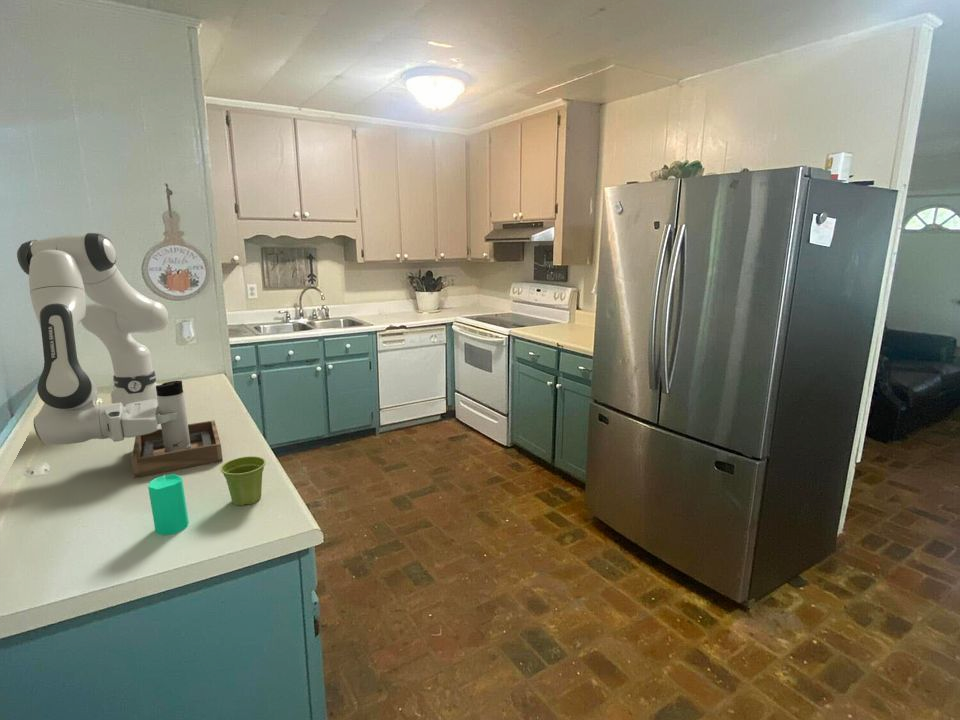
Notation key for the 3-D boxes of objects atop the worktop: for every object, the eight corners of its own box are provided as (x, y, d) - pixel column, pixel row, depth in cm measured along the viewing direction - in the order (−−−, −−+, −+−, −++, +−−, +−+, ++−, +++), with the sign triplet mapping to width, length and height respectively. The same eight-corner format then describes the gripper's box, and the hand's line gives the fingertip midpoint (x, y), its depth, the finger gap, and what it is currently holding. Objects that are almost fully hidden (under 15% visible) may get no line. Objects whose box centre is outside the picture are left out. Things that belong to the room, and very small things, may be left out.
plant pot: (277, 493, 122) (274, 459, 120) (248, 512, 113) (244, 476, 111) (246, 487, 125) (242, 453, 123) (215, 505, 116) (210, 470, 114)
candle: (164, 520, 110) (156, 468, 108) (193, 519, 111) (186, 467, 108) (149, 536, 105) (140, 481, 102) (180, 534, 105) (172, 480, 102)
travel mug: (180, 456, 140) (171, 385, 135) (159, 454, 141) (149, 383, 137) (197, 447, 146) (188, 379, 141) (176, 445, 147) (167, 377, 143)
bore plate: (146, 447, 146) (145, 441, 146) (209, 437, 154) (208, 430, 154) (143, 468, 133) (142, 461, 133) (213, 455, 141) (212, 448, 140)
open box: (138, 448, 148) (136, 432, 147) (216, 435, 158) (214, 420, 157) (134, 478, 130) (131, 460, 129) (222, 461, 140) (220, 444, 138)
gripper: (120, 419, 144) (178, 411, 151) (114, 444, 127) (179, 433, 134) (117, 398, 143) (175, 391, 150) (110, 419, 125) (176, 410, 132)
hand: (177, 411), depth 141 cm, fingers closed on travel mug, 6 cm apart
